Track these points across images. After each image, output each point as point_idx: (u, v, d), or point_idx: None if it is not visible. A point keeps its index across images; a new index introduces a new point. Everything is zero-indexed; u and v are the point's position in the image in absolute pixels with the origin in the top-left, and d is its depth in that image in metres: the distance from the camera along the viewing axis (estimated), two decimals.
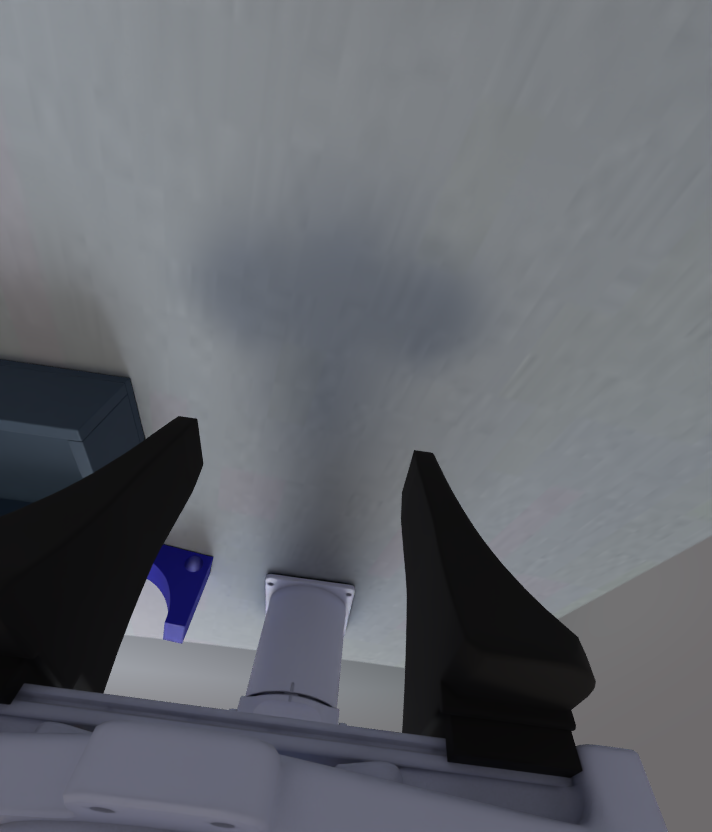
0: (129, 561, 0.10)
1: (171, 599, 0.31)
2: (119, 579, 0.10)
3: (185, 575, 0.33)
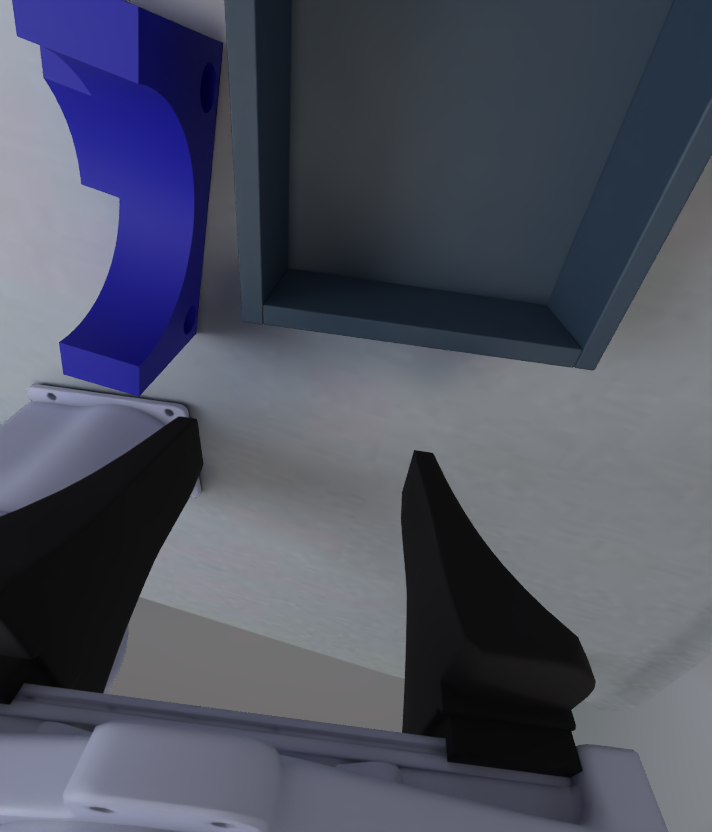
0: (129, 561, 0.10)
1: (159, 341, 0.17)
2: (119, 579, 0.10)
3: (180, 325, 0.19)
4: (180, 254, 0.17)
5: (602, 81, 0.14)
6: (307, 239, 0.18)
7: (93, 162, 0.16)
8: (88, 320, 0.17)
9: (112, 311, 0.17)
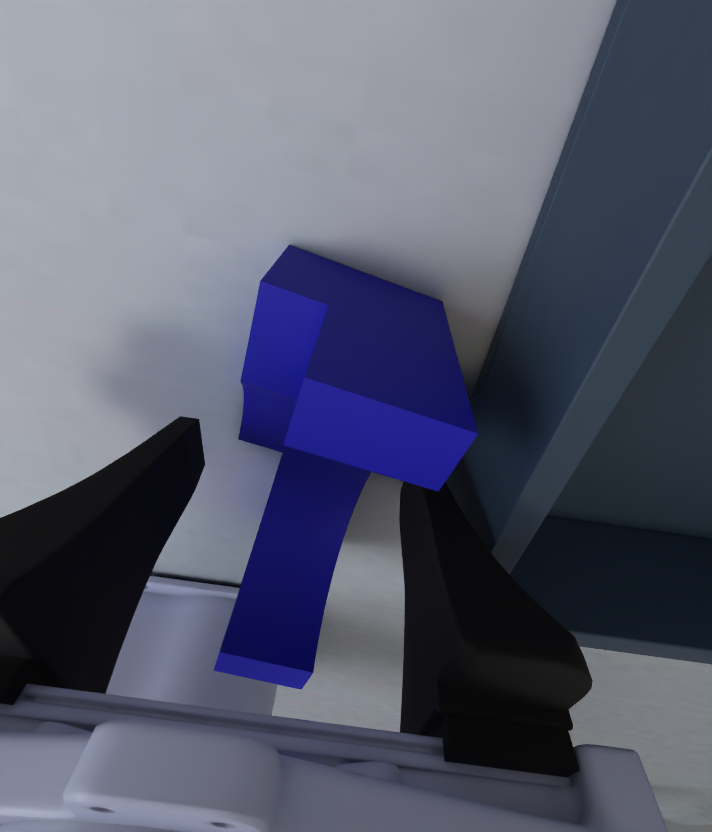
0: (131, 561, 0.10)
1: (322, 615, 0.14)
2: (121, 579, 0.10)
3: None
4: (344, 504, 0.14)
5: None
6: None
7: (261, 424, 0.13)
8: (242, 600, 0.14)
9: (266, 580, 0.14)
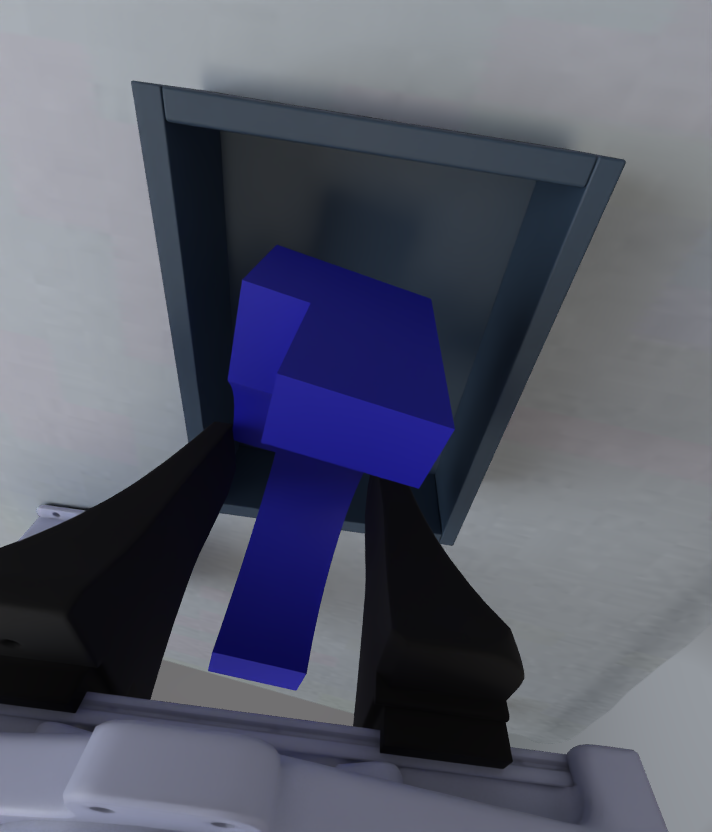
0: (174, 567, 0.10)
1: (317, 616, 0.14)
2: (166, 585, 0.10)
3: None
4: (339, 504, 0.14)
5: (449, 358, 0.20)
6: None
7: (252, 424, 0.13)
8: (236, 600, 0.14)
9: (260, 580, 0.14)
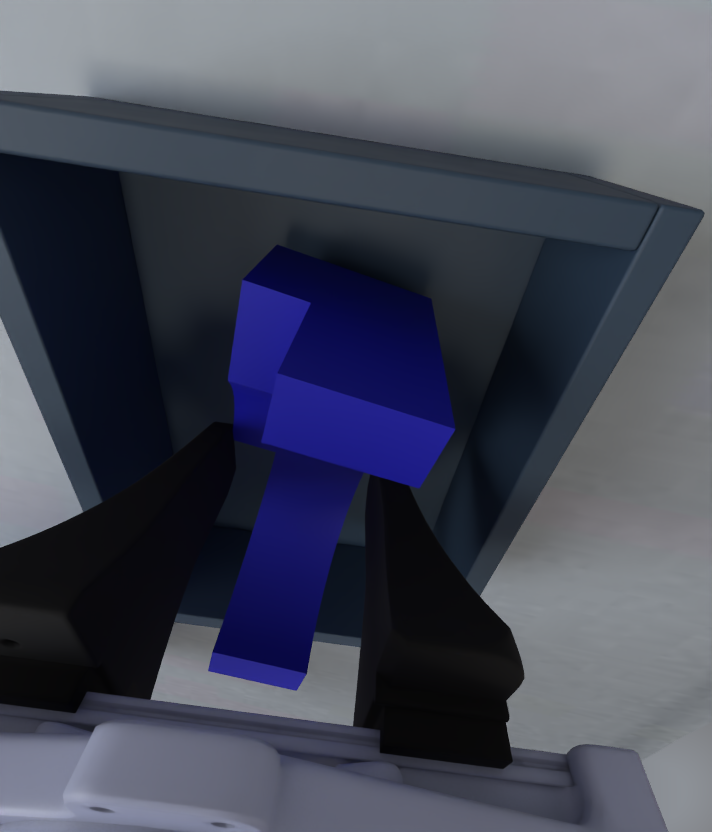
0: (174, 567, 0.10)
1: (317, 616, 0.14)
2: (166, 586, 0.10)
3: None
4: (339, 504, 0.14)
5: None
6: None
7: (253, 424, 0.13)
8: (236, 600, 0.14)
9: (260, 580, 0.14)
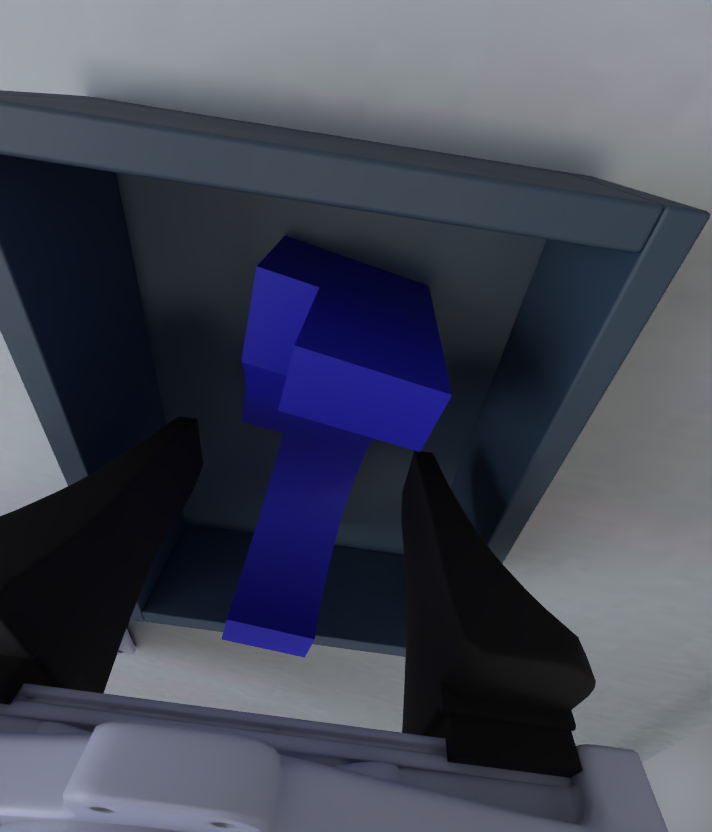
0: (129, 561, 0.10)
1: (323, 588, 0.15)
2: (119, 579, 0.10)
3: None
4: (342, 482, 0.15)
5: (437, 435, 0.16)
6: (199, 508, 0.19)
7: (262, 406, 0.13)
8: (247, 572, 0.14)
9: (270, 554, 0.15)
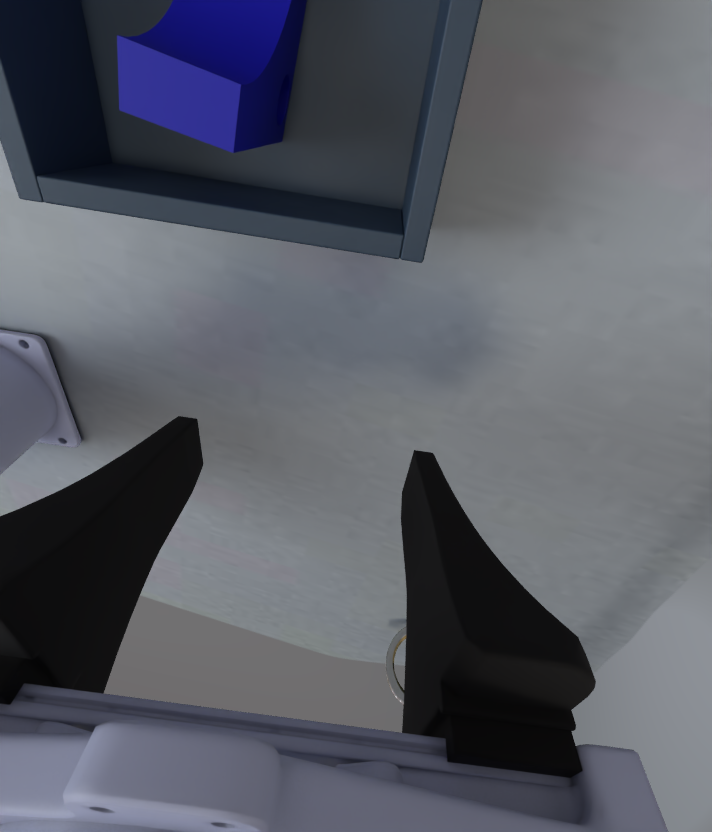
0: (129, 561, 0.10)
1: (261, 77, 0.11)
2: (119, 579, 0.10)
3: (276, 91, 0.13)
4: None
5: None
6: (126, 125, 0.16)
7: None
8: (156, 32, 0.11)
9: (189, 30, 0.11)
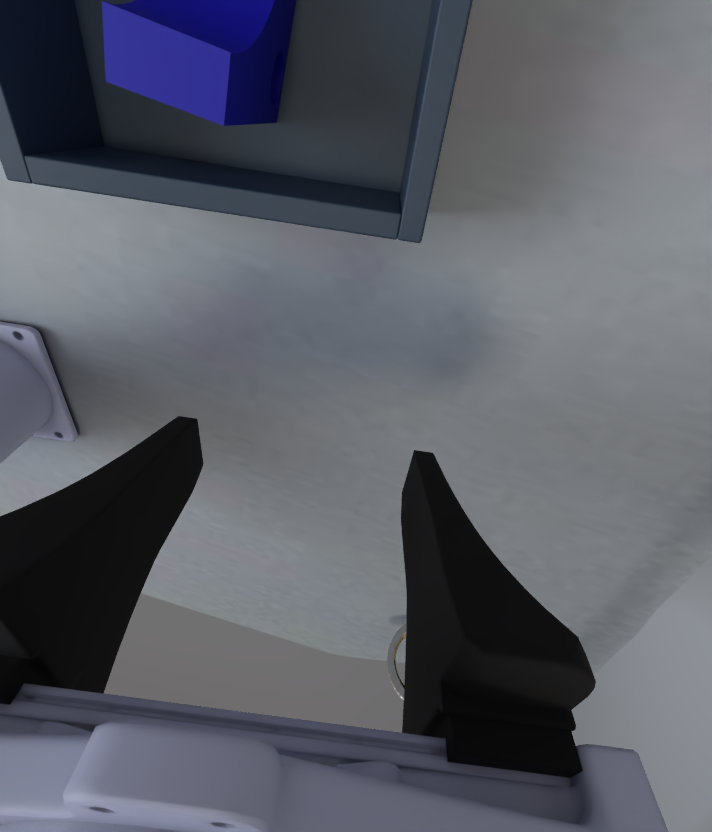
0: (129, 561, 0.10)
1: (252, 48, 0.11)
2: (119, 579, 0.10)
3: (269, 66, 0.13)
4: None
5: None
6: (117, 107, 0.15)
7: None
8: (143, 2, 0.10)
9: (178, 0, 0.11)
